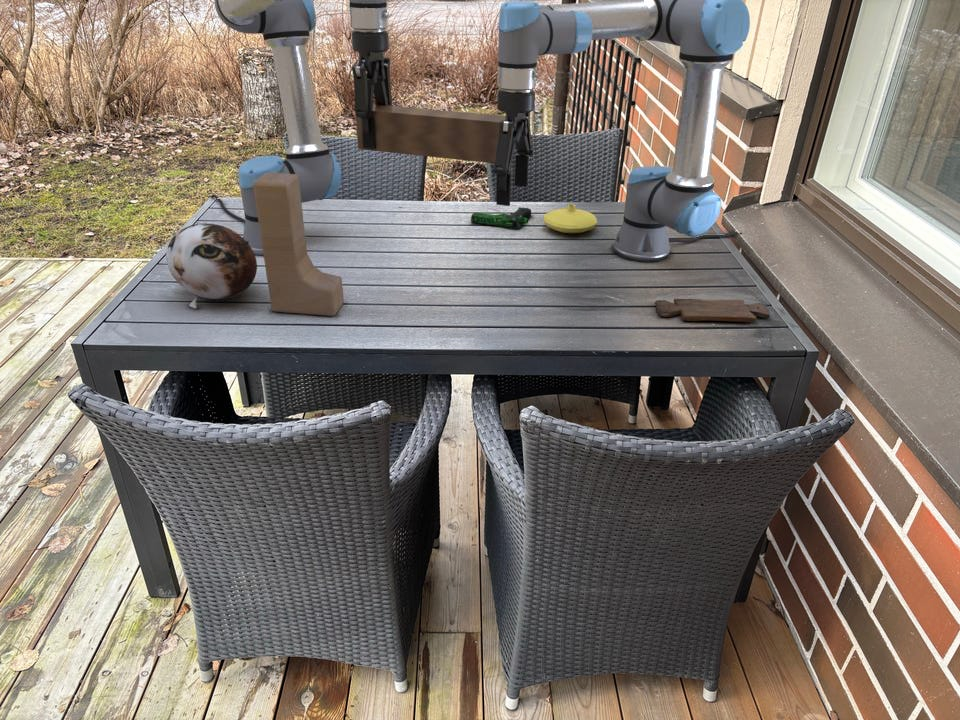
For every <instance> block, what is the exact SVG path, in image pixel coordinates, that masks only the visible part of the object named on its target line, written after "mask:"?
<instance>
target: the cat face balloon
mask: <svg viewBox="0 0 960 720" xmlns="http://www.w3.org/2000/svg"><path fill="white" fill-rule="evenodd" d="M248 242H249V241H246V240H245V239H244V238H243V236H242V235H240V234H239V233H238V232H236V231H234V230H233V229H231V228H229V227H226V226H223V225H220V224H215V223H205V222H204V223H195V224H191V225H188V226H186V227H183V228H182V229H180V230H179V231H177V232H176V233H175V234H174V235H173V237H171V239H170V241H169V243H168V245H167V248H166V254H165V260H166V265H167V268H168V271H169V273H170V275H171V276H172V277H173V279H174V280H175V281H176V282H177V284H178V285H180V286H181V287H182V288H183V289H185V290H186V291H187V292H189V293H191V294H194V295H195V298H194V299H193V300H192V302H190V303H189V304H188V306H189V307H191V308H192V309H197V308H198V307H197V298H198V297H201V298H205V299H210V300H226V299H230V298H233V297H236V296H238V295H241V294H242V293H244V292H245V291H247V290H248V289H249V288H250V286H251V285H252V284H253V282H254V280H255V278H256V275H257V271H258V262H257V257H256V254H254V252H253V250H252V248H251V247H250V245H249V244H248Z"/></svg>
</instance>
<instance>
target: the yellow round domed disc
mask: <svg viewBox="0 0 960 720" xmlns="http://www.w3.org/2000/svg"><path fill="white" fill-rule="evenodd" d="M543 222H544V225H545V226H546V227H548V228H550V229H551V230H554V231H556V232H559V233H564V234H580V233H584V232H585V233H586V232H587V231H591V230H592V229H594V228H596V226H597V223H598V219H597V217H596V215H595V214H593V213H591V212H589V211H587V210H584V209H578V208H576V205H575V204H571V203H570V204H567V208H557V209H552V210H549V211H548V212H547V213H545V214H544V216H543Z"/></svg>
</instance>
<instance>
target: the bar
mask: <svg viewBox="0 0 960 720" xmlns="http://www.w3.org/2000/svg"><path fill="white" fill-rule="evenodd" d="M372 117H374V122H375V140H376V148H375V149H370V148H363V136H362V121H361V117H357V116H356V115H355V125H356V126H355V127H356V140H357V149H358V150H364V151H372V152H381V153H382V152H383V153H392V154H401V155H411V156H419V157H430V158H439V159H440V158H441V159H449V160H458V161H466V162H467V161H469V162H475V163H476V162H478V163H485V164H495V158H496V152H497V145H498V139H499V130H500V121H504V120H505V118H506V115H500V114H499V115H498V114H487V113H477V112H465V111H453V110H452V111H451V110H441V109H432V108H431V109H429V108H419V107H408V106H397V105H395V106H394V105H391V106H390V105H389V106H385V105H376V104H374V103H373V110H372ZM506 134H507V133H506Z"/></svg>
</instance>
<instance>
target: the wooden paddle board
mask: <svg viewBox="0 0 960 720" xmlns="http://www.w3.org/2000/svg"><path fill="white" fill-rule="evenodd" d="M654 304H655V308H656V312H657V314H658V316H659V317H661V318H669V317H674V316H678V315H680V316H681V319H682V321H685V322H699V321H715V322H716V321H721V322H741V323H754V322H756V321H757V319H758V318H763V319H769V318H770V315H771V314H770V311H769V309H768V307H767V305H766V303H764V302H756V303H753V304H747V305H746V304H745V300H744V299H700V298H673V302H671V301H668V300H666V299H657V300H655V301H654ZM757 317H758V318H757Z"/></svg>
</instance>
